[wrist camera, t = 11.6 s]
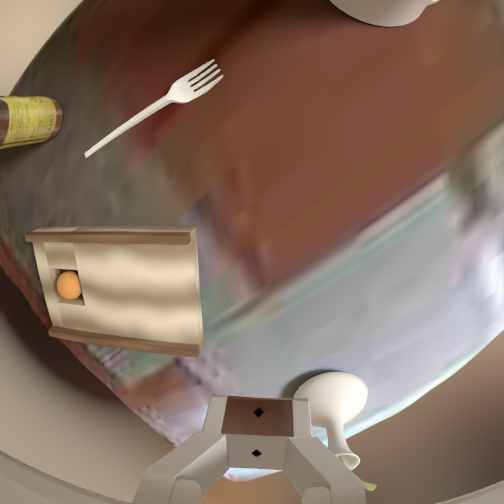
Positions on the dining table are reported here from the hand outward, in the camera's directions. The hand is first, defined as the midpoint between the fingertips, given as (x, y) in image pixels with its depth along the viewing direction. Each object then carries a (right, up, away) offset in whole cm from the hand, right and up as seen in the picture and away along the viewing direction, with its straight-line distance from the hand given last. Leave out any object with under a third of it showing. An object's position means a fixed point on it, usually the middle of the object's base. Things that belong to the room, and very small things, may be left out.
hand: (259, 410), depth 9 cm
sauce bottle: (-28, +23, +25) cm, 44 cm away
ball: (-26, 0, +31) cm, 40 cm away
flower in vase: (+12, -17, +36) cm, 42 cm away
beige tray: (-19, +1, +32) cm, 37 cm away
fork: (-13, +21, +25) cm, 35 cm away
